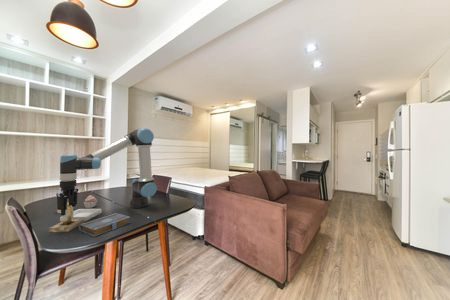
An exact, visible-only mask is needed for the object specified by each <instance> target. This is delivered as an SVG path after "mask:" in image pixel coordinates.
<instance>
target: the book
mask: <svg viewBox="0 0 450 300" xmlns="http://www.w3.org/2000/svg"><path fill="white" fill-rule="evenodd" d="M130 218H131V216H128V215H126V214H121V213H119V212H115V213H111V214H109V215H105V216H102V217H100V218H99V217H98V218H95V219H93V220H92V219H91V220H88V221H86V222H83V223H82V224H80V225H79V226H78V231H80V232H82V233H85V234H87V235H89V236H91V237H93V238H95V237H99V236H100V235H102V234H105V233H108V232H111V231H114V230H117V228H120V227H123V226H125V225H128V224H131V221H129V219H130Z"/></svg>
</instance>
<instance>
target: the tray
mask: <svg viewBox="0 0 450 300" xmlns="http://www.w3.org/2000/svg"><path fill="white" fill-rule="evenodd" d="M102 212H103V209H102V208H89V209H87V208H79V209H76V210H74V211H73V218H72V219H83V223H85V222H89V221H91V220H92V219H93V218H95V217H97V216H99V215H101V214H102ZM60 222H62V221H61V216H60V217H59V223H60Z"/></svg>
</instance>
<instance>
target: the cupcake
mask: <svg viewBox="0 0 450 300" xmlns="http://www.w3.org/2000/svg"><path fill="white" fill-rule="evenodd" d="M97 203H98V200H97V198H96V197H95V196H93V195H91V194H90V195H88V196H87V197H86V198H85V199H84V201H83V205H84V209H95V208H96V204H97Z"/></svg>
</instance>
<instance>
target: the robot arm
mask: <svg viewBox="0 0 450 300" xmlns="http://www.w3.org/2000/svg"><path fill="white" fill-rule="evenodd" d="M154 136H155V135H154V132H153V131H152V130H150V128H144V127H141V128H137V129H134V130H133V131H131V132H129V133H128V134H126V135H124V136H123V138H120V139H118V140H116V141H114V142H113V143H110V144H108V145H105V146H103V147H102V148H100V149H97V150H95V151H93V152H91V153H90V154H87V155H85V156H82V157H78V155H77V154H61V156H60V160H59V180H60V181H59V188H61V189H60V192H59V193H58V192H57V193H56V200H57V201H56V205H57V208H56V209H57V210H61V213H60V217H61V221H67V210H68V209H66V207H67V202H69V205H72V218H73V211H75V207H77V206H76V205H77V204H78V192H79V188H76V186H77V178H78V176H77V175H78V173H77V171H79V170H98V169H100V168H101V166H102V165H101V163H102V161H103V160H105V159H107V158H109V157H111V156H112V155H114V154H116V153H119V152H121V151H122V150H124V149H126V148H128V147H133V146H135V147H137V150H138V165H139V166H138V167H139V178H135V179H132V182H131V199H130V201H129V205H128V206H129V208H131V209H142V208H146V207H149V205H150V200H149V198H151V197H153V196H154V195H155V194H156V192H157V190H158V187H157V183H156V184H155V178H154V177H153V176H152V175H153V174H152V159H151V157H152V156H151V147H152V146H153V141H154V138H155V137H154ZM57 210H56V211H57Z"/></svg>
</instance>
